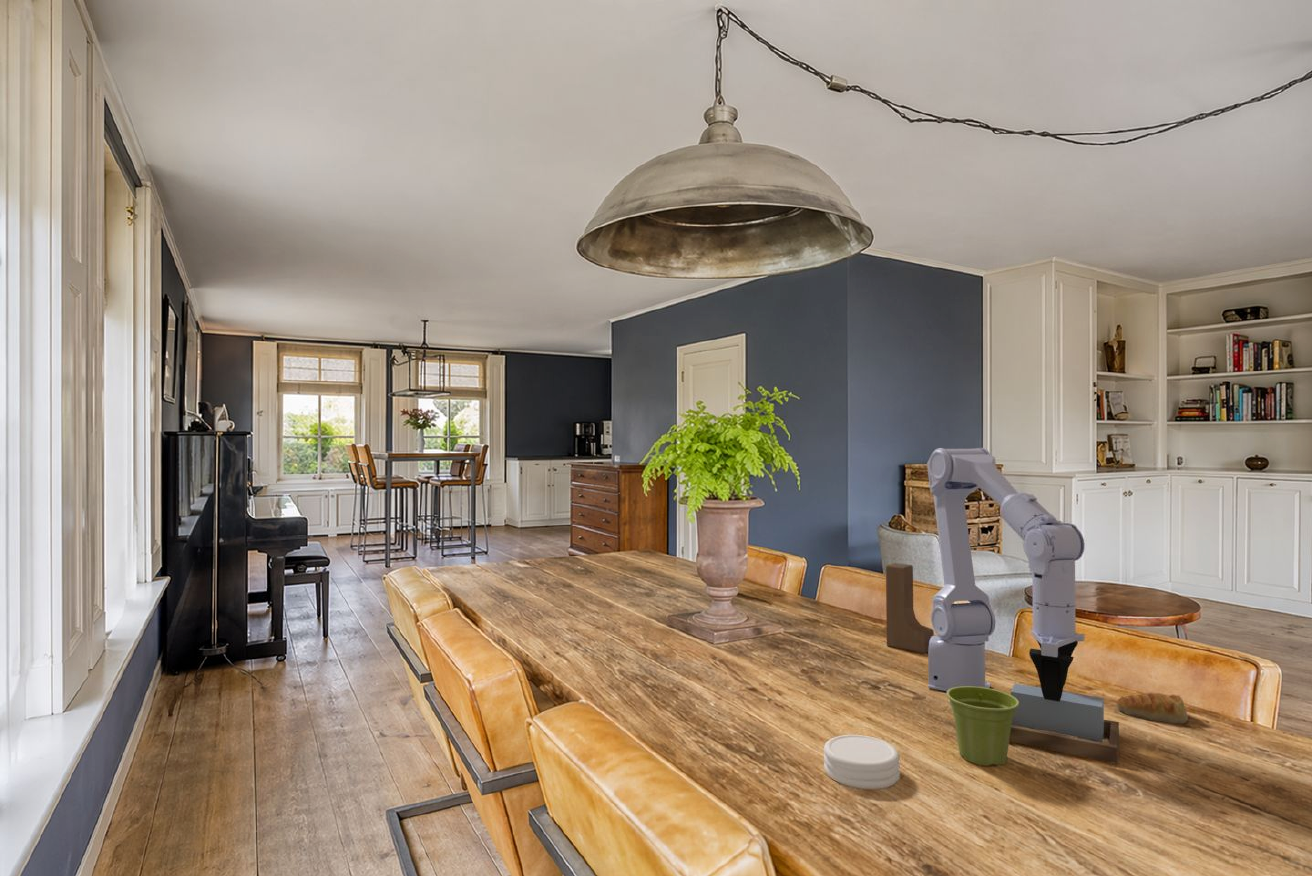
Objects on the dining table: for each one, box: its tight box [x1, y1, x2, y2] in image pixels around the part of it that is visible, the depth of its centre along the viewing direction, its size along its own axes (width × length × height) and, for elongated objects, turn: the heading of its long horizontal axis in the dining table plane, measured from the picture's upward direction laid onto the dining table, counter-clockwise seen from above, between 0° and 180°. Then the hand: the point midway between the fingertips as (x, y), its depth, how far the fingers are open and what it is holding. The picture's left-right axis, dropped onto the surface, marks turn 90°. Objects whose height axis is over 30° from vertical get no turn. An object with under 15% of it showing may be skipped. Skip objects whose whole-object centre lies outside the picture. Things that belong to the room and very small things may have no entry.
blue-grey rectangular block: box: [1010, 683, 1105, 743], centre depth 107 cm, size 12×4×5 cm, turn 56°
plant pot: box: [946, 686, 1019, 767], centre depth 101 cm, size 9×9×9 cm
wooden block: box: [885, 562, 935, 654], centre depth 155 cm, size 9×4×18 cm, turn 45°
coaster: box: [823, 734, 901, 790], centre depth 97 cm, size 10×10×4 cm
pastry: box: [1115, 692, 1189, 724], centre depth 116 cm, size 9×7×4 cm
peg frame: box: [1009, 719, 1120, 765], centre depth 107 cm, size 16×11×2 cm
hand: (1054, 692), depth 108 cm, fingers open, 7 cm apart
